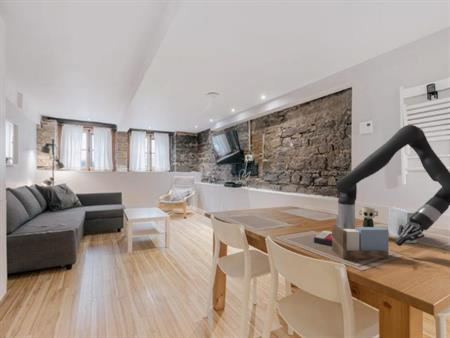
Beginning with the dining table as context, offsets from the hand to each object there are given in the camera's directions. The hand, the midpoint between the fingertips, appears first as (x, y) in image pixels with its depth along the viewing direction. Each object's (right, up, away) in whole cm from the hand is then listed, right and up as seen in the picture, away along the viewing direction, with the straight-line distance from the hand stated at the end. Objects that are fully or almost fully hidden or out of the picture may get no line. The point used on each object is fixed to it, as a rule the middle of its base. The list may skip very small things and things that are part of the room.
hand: (397, 244), depth 107 cm
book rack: (-17, -5, +1) cm, 17 cm away
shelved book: (-21, -5, +1) cm, 22 cm away
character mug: (+17, -5, +50) cm, 53 cm away
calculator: (-22, -5, +20) cm, 30 cm away
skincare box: (+22, -5, +27) cm, 35 cm away
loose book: (-11, -5, 0) cm, 12 cm away
